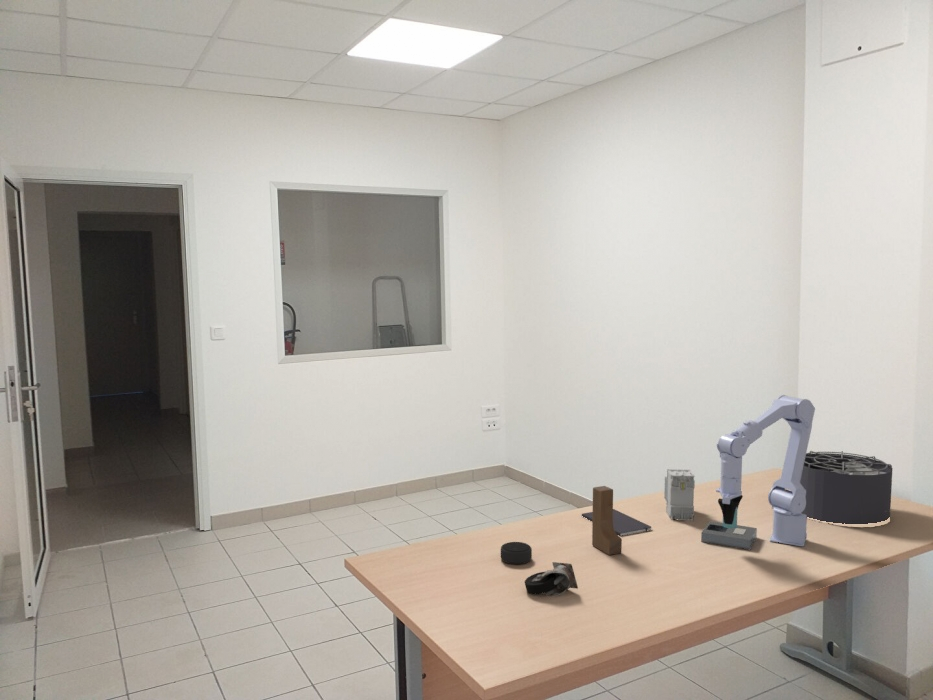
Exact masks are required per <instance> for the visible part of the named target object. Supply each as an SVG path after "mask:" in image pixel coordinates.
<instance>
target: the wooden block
mask: <svg viewBox="0 0 933 700" xmlns="http://www.w3.org/2000/svg"><path fill="white" fill-rule="evenodd" d="M613 509H614V490H613V488H611V487H608V486H606V485H602V486H601V485H600V486H595V487H592V512H593V519H592V522H591V523H592V524H591V525H592V527H591V528H592V530H591V533H592V535H591V536H592V538H591V539H592V540H591V542H592V543H591V545H592V546H593V547H594V548H597V549H598V550H600V551H601V552H603V553H605V554H606V555H608V556H611V555H612V556H613V555H617V554H621V553H622V549H623V547H622V544H623V543H622V538H621V536H618V535H617V534H616V532H615V530H614V527H613Z"/></svg>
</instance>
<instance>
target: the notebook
mask: <svg viewBox="0 0 933 700" xmlns="http://www.w3.org/2000/svg"><path fill="white" fill-rule="evenodd" d="M582 516H583V517H582ZM581 517H582V518H584V517H585V518H587V519H588V520H587V519H586V520H587V521H589V520H590V522H591V521H592V519H593V511H590V512H584V513H581ZM585 518H584V519H585ZM613 527H614V530H615V532H616V534H617V535H619V537H622V535H623V536H628V535H633V533H634V534H639V533H644V532H643V531H645V532H648V531H647V530H650V531H651V529H652V528H653V527H652V526H651V525H648V524H647V523H644V522H643V521H640V520H638V519H636V518H634V517H633V516H629V515H627V514H625V513H623V512H621V511H618V510H617V509H615V508H613ZM638 532H639V533H638ZM627 534H628V535H627Z"/></svg>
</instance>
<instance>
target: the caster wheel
mask: <svg viewBox="0 0 933 700" xmlns="http://www.w3.org/2000/svg"><path fill="white" fill-rule="evenodd" d="M552 566H553V568H552V569H549V570H548V569H547V570H546V571H541V572H537V573H534V574H531V575H530V576H528V577H527V578H526V579H525V580H524V586H525V589H526V593H528V594H529V595H541V594H542V595H543V594H545V595H547V596H548V597H558V596H561V595H563V594H564V593H565V592H566V591H569V589H577V590H578V589H579V586H578V583H577V579H576V575H575V572H574V568H573V565H572V563H567V562H555V561H554V562H552Z"/></svg>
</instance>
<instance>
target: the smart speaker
mask: <svg viewBox="0 0 933 700" xmlns="http://www.w3.org/2000/svg"><path fill="white" fill-rule="evenodd" d="M532 553H533V552H532V546H531V545H529V544H528V543H526V542H523V541H509V542H506V543H503V544H502V545H501V547H500V559H501V560H502V561H503V562H504V563H506V564H511V565H523V564H526V563H528V562H530V561H531V560H532V557H533V555H532Z"/></svg>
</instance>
